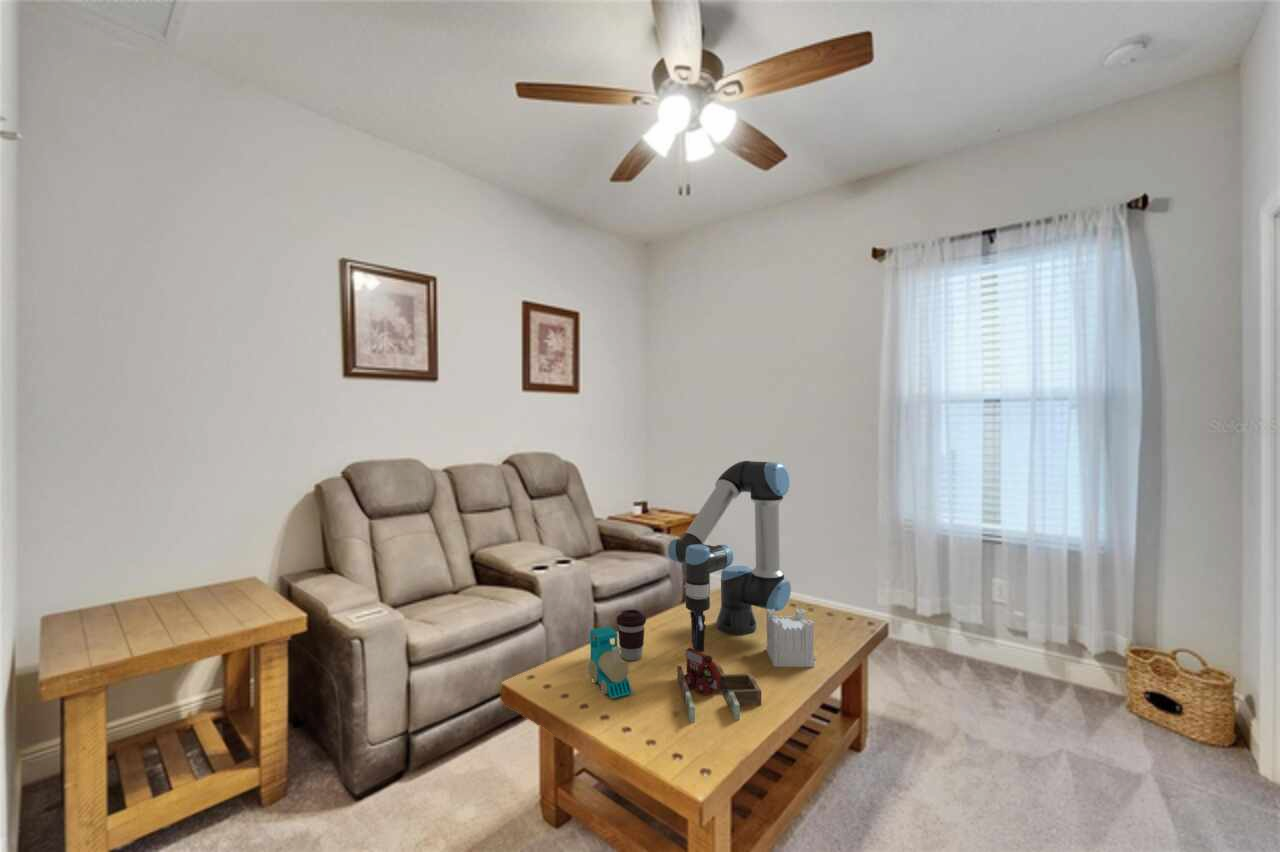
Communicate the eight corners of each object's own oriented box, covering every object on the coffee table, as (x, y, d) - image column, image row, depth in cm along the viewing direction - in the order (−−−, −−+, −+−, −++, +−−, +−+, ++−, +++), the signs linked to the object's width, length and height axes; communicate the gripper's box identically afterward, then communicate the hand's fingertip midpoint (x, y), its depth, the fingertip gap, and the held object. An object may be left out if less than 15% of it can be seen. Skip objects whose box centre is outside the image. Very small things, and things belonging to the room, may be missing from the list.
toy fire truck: (711, 699, 156) (710, 664, 156) (679, 684, 165) (678, 650, 165) (726, 690, 161) (725, 656, 160) (694, 676, 170) (693, 643, 169)
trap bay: (721, 688, 163) (720, 674, 162) (751, 686, 163) (751, 673, 163) (729, 706, 152) (729, 692, 152) (761, 704, 153) (761, 690, 153)
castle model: (766, 649, 189) (766, 608, 189) (809, 650, 189) (809, 609, 188) (774, 666, 176) (774, 623, 176) (820, 667, 176) (820, 623, 176)
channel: (677, 678, 168) (677, 666, 168) (719, 677, 169) (719, 664, 169) (690, 722, 144) (690, 707, 144) (739, 719, 145) (739, 704, 145)
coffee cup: (652, 656, 185) (651, 612, 184) (631, 666, 177) (631, 620, 177) (631, 647, 191) (630, 605, 191) (610, 657, 184) (610, 613, 184)
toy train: (609, 702, 155) (609, 650, 155) (588, 677, 170) (588, 630, 169) (634, 696, 158) (634, 645, 158) (611, 672, 173) (611, 625, 173)
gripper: (682, 589, 175) (682, 661, 176) (689, 602, 162) (689, 681, 163) (705, 588, 176) (705, 660, 176) (713, 602, 163) (713, 680, 163)
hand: (697, 670), depth 169 cm, fingers closed
